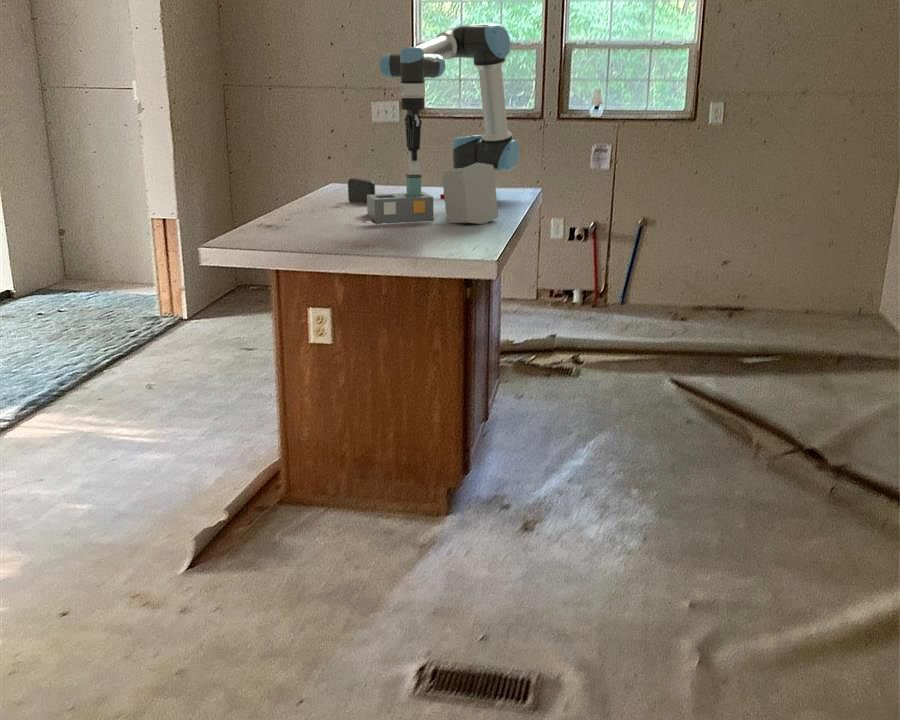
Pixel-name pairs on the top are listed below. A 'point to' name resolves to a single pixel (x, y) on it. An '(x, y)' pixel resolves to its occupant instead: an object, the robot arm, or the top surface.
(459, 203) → the electrical switch box
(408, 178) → the plug
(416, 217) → the junction block
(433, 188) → the top surface
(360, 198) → the dark grey curved block
